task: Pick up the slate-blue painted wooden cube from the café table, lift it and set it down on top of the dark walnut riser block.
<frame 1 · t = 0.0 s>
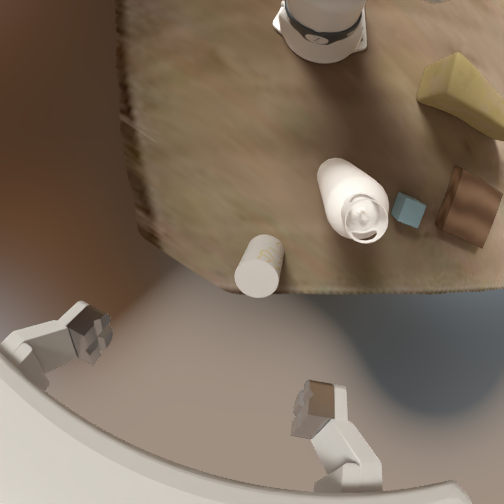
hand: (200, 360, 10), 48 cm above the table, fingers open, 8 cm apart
cheese: (459, 109, 38), on the table
cup: (265, 251, 61), on the table
cube: (404, 206, 50), on the table
riser: (466, 205, 46), on the table
bottle: (336, 177, 51), on the table
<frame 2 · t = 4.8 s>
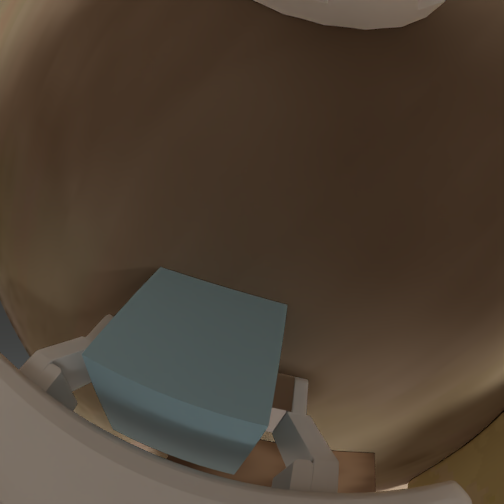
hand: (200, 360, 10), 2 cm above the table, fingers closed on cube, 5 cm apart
cheese: (484, 433, 13), on the table
cube: (212, 333, 11), on the table, touching gripper
riser: (260, 470, 18), on the table
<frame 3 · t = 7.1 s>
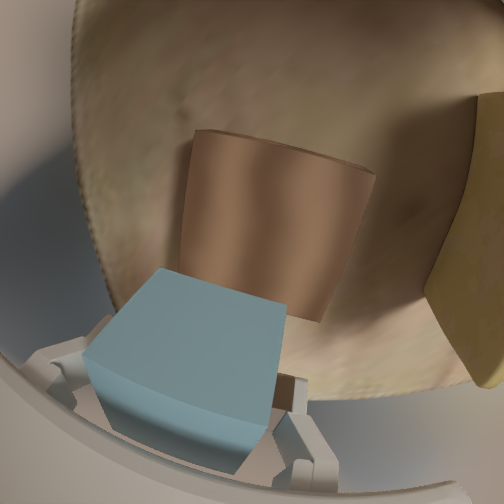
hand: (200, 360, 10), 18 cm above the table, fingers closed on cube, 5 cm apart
cheese: (474, 205, 20), on the table
cube: (212, 333, 11), point 16 cm above the table, touching gripper
riser: (270, 219, 25), on the table
when the fingers open (7 cm above the table, at t = 9.9 s): cube drops 1 cm, resting on riser.
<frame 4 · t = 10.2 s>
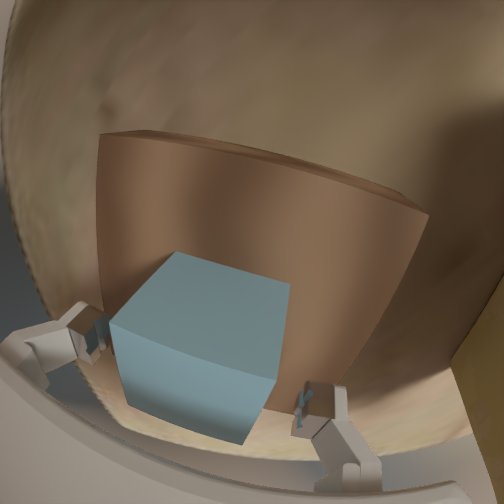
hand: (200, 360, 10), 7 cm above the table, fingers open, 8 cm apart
cube: (222, 313, 12), point 4 cm above the table, touching riser
riser: (240, 271, 16), on the table
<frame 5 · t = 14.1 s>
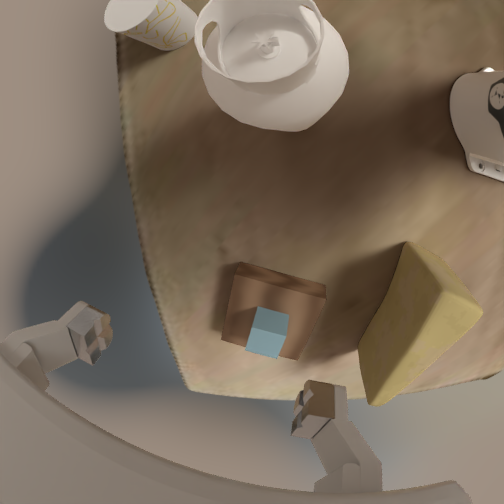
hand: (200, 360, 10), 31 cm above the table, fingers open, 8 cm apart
cheese: (392, 302, 42), on the table
cup: (174, 28, 29), on the table
cube: (269, 322, 42), point 4 cm above the table, touching riser
riser: (272, 307, 46), on the table
bottle: (292, 103, 32), on the table
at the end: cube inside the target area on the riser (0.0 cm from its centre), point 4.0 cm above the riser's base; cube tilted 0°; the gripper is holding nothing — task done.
